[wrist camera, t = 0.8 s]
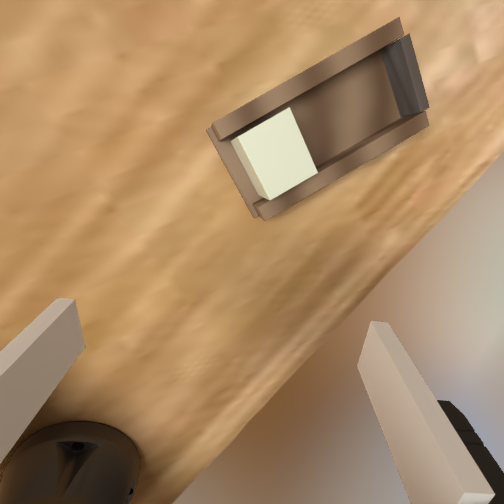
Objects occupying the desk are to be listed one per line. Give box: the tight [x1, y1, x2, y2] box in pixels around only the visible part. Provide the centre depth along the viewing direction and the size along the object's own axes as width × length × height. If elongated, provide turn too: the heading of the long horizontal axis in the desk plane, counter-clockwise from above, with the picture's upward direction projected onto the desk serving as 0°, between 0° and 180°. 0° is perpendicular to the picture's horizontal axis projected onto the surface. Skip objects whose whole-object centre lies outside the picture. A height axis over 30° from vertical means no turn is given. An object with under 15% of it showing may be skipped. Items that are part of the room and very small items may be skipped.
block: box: [230, 107, 318, 200], centre depth 28 cm, size 5×6×5 cm
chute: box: [206, 17, 429, 221], centre depth 30 cm, size 20×10×4 cm, turn 118°
